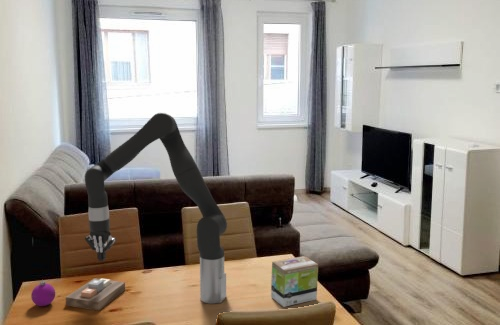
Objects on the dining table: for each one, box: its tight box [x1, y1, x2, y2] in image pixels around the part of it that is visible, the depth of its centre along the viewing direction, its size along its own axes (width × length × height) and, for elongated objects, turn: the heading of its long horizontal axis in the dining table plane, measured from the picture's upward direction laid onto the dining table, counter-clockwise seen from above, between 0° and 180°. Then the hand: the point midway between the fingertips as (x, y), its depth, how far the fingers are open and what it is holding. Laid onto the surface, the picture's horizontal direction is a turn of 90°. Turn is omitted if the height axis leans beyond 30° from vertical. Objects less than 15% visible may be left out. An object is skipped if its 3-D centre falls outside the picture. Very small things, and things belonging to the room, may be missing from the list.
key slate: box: [87, 278, 104, 293], centre depth 180 cm, size 4×4×3 cm
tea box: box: [270, 255, 319, 308], centre depth 179 cm, size 15×10×15 cm
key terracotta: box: [81, 288, 97, 298], centre depth 176 cm, size 4×4×3 cm
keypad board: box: [65, 277, 126, 311], centre depth 181 cm, size 14×18×3 cm
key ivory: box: [99, 277, 111, 291], centre depth 185 cm, size 4×4×3 cm
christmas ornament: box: [30, 279, 56, 307], centre depth 174 cm, size 8×8×10 cm
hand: (101, 260), depth 183 cm, fingers closed
